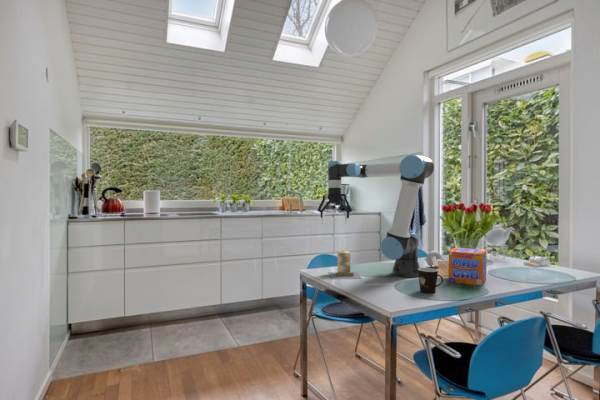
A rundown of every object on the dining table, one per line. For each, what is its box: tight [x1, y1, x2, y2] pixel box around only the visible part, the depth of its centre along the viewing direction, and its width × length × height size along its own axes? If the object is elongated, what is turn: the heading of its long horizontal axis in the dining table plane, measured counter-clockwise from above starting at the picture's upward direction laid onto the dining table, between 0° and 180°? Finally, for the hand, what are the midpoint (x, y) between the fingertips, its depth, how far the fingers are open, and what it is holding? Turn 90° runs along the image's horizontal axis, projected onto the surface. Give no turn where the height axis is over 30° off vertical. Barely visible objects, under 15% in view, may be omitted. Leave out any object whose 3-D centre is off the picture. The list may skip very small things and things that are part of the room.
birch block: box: [337, 250, 351, 272], centre depth 196 cm, size 6×6×12 cm
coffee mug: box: [418, 267, 444, 295], centre depth 162 cm, size 12×9×10 cm
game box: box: [447, 247, 487, 287], centre depth 184 cm, size 16×16×16 cm
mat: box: [327, 271, 363, 280], centre depth 193 cm, size 16×16×2 cm
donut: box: [425, 250, 443, 268], centre depth 218 cm, size 10×4×10 cm, turn 101°
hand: (334, 223), depth 213 cm, fingers open, 13 cm apart
